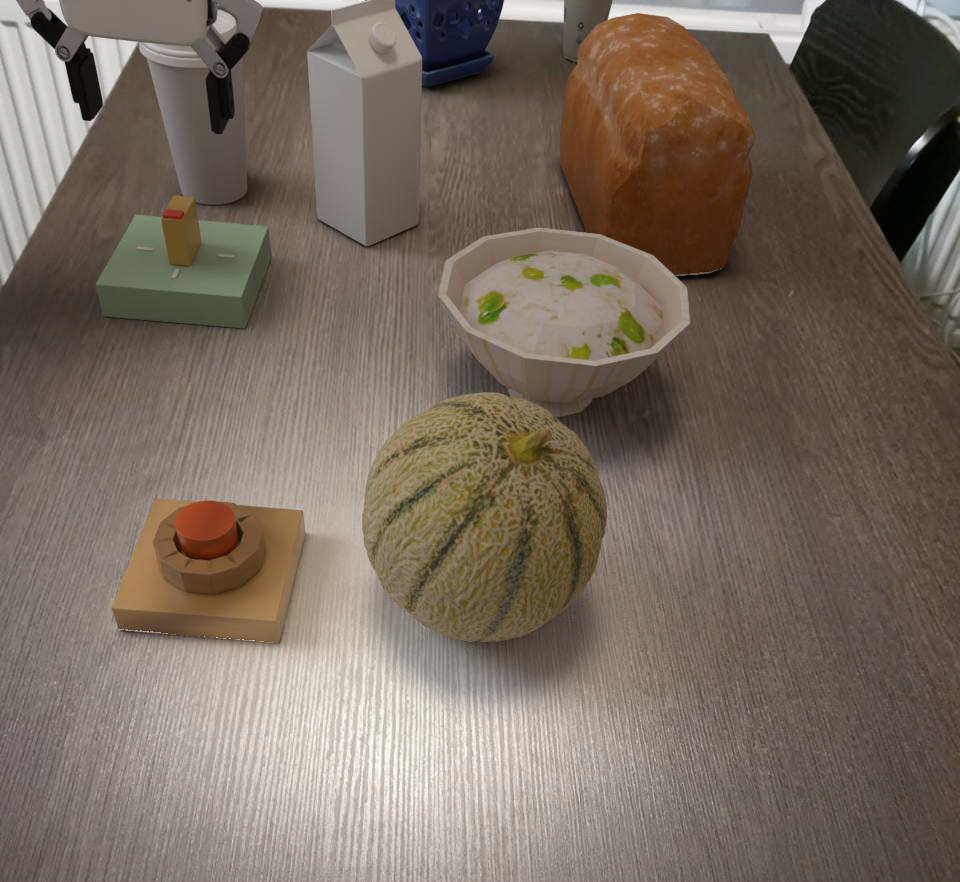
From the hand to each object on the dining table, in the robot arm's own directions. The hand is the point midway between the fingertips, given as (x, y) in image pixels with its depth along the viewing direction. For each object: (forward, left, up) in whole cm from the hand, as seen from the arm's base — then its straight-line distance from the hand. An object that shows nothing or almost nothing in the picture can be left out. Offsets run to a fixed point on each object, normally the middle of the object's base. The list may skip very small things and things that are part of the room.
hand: (157, 120), depth 74 cm
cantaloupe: (+27, -34, -15) cm, 46 cm away
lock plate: (0, +1, -15) cm, 15 cm away
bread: (+41, +22, -15) cm, 49 cm away
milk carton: (+14, +15, -15) cm, 25 cm away
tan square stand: (+10, -34, -15) cm, 38 cm away
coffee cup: (-2, +19, -15) cm, 24 cm away
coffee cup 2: (+36, +64, -15) cm, 75 cm away
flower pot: (+17, +55, -15) cm, 60 cm away
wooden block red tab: (0, +1, -11) cm, 12 cm away
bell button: (+10, -34, -11) cm, 37 cm away
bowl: (+32, -10, -15) cm, 36 cm away
